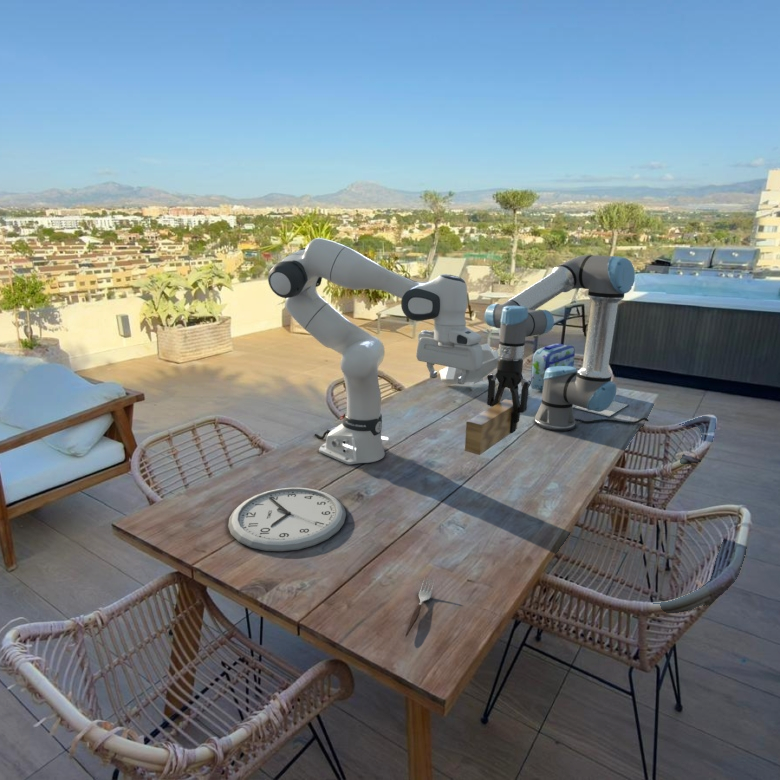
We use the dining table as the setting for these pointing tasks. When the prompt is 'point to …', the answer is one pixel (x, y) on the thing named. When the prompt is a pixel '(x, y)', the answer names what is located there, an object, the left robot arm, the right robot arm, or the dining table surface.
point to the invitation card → (609, 411)
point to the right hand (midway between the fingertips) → (504, 429)
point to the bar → (488, 427)
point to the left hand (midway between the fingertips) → (447, 380)
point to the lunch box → (550, 361)
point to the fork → (423, 597)
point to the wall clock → (287, 519)
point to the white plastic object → (488, 365)
